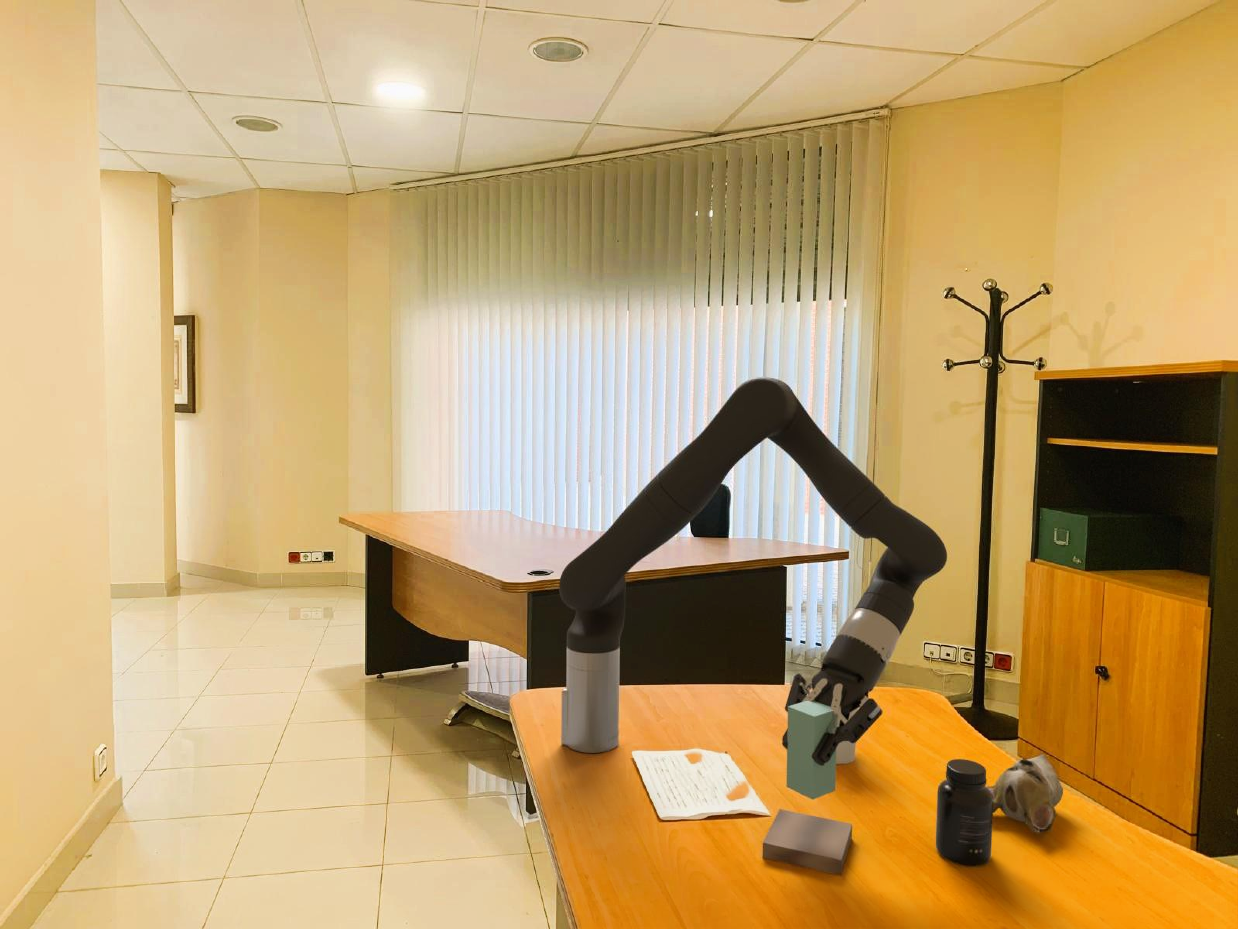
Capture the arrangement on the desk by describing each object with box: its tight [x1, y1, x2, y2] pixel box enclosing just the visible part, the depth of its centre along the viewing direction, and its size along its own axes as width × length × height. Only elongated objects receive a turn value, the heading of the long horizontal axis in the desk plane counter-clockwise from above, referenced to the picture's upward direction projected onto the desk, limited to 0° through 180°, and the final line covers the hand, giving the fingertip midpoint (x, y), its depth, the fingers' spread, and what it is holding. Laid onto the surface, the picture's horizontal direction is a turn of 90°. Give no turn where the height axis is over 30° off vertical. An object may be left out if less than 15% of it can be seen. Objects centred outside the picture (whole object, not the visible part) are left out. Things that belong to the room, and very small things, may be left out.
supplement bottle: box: [935, 758, 994, 867], centre depth 108 cm, size 7×7×12 cm
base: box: [762, 808, 853, 876], centre depth 110 cm, size 10×10×2 cm
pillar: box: [786, 701, 837, 800], centre depth 109 cm, size 4×4×11 cm
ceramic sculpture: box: [986, 754, 1064, 834], centre depth 119 cm, size 11×9×15 cm
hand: (802, 754), depth 108 cm, fingers closed on pillar, 4 cm apart
